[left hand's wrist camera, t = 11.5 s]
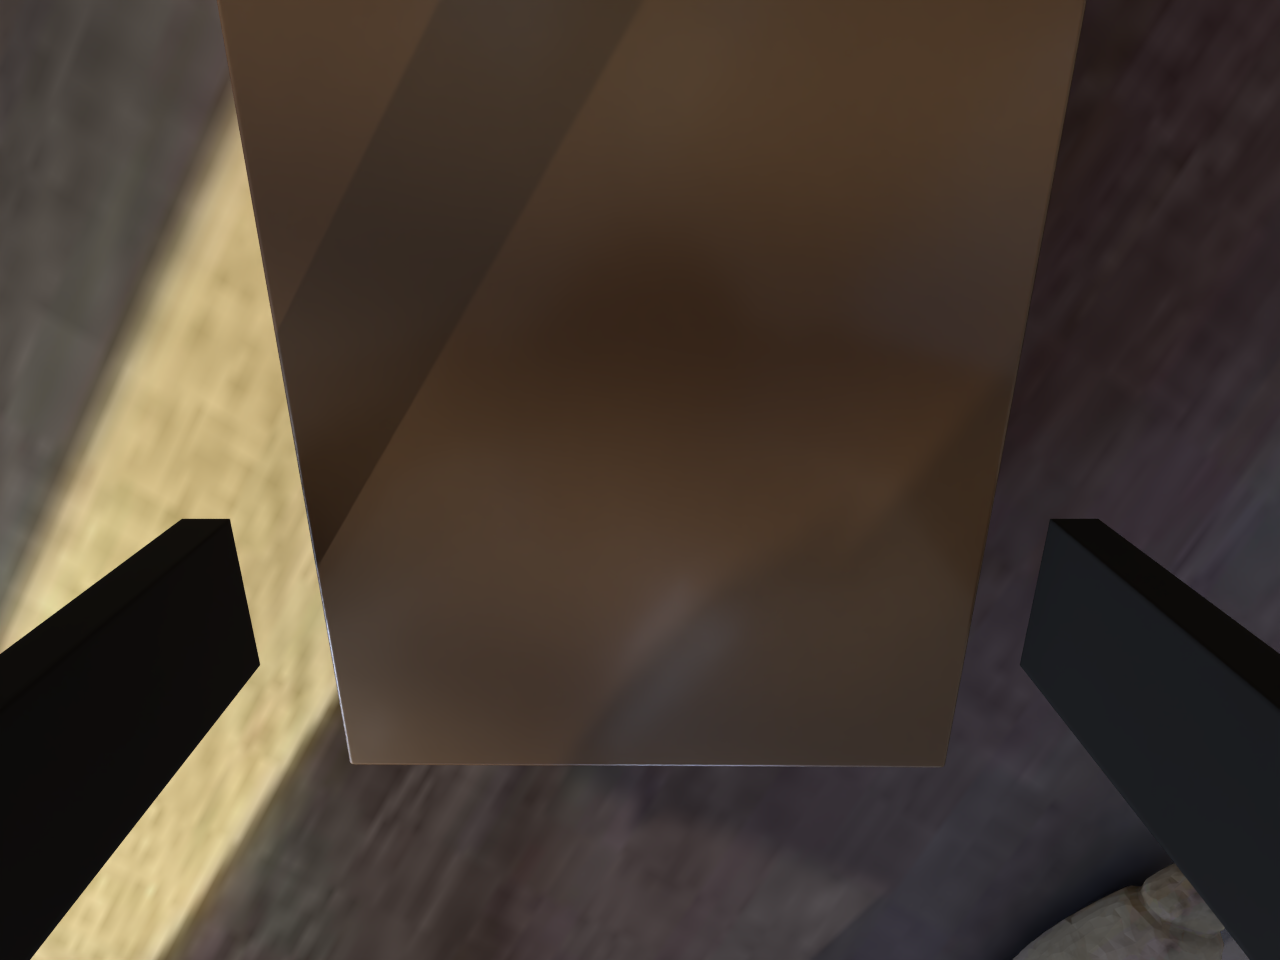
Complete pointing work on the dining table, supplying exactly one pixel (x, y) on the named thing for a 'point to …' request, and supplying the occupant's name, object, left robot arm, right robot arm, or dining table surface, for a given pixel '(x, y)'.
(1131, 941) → the decorative stone
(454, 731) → the cabinet
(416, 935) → the dining table surface
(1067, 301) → the dining table surface
